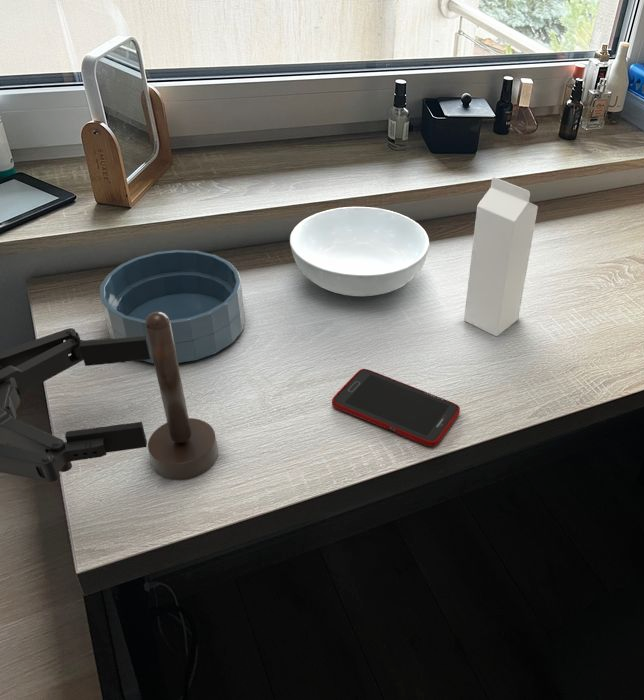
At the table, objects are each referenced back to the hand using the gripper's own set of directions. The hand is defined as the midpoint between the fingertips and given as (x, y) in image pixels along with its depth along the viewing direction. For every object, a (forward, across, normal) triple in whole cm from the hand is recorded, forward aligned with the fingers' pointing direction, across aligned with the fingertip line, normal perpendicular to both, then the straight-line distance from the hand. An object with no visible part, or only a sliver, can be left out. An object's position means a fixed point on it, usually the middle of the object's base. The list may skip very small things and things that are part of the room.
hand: (146, 388), depth 74 cm
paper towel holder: (+2, 0, -10) cm, 11 cm away
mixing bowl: (+2, -24, -10) cm, 27 cm away
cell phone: (+27, -2, -10) cm, 29 cm away
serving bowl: (+28, -33, -11) cm, 45 cm away
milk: (+45, -19, -11) cm, 50 cm away
